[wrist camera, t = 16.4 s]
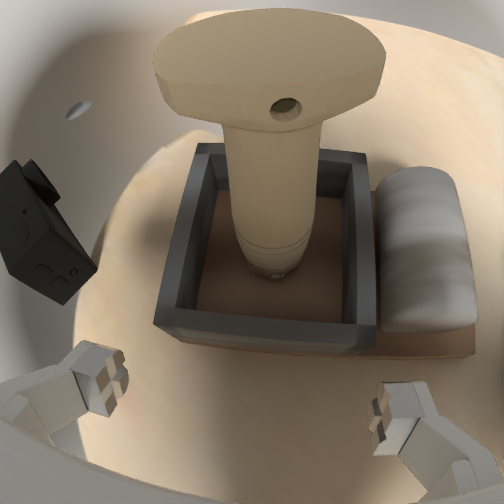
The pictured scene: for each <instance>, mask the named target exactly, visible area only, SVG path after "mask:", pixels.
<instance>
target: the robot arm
mask: <svg viewBox="0 0 504 504" xmlns="http://www.w3.org/2000/svg"><path fill="white" fill-rule="evenodd" d="M124 361H125V357H124V354H123V352H122V351H121V350H118V349H115V348H111V347H107V346H104V345H100V344H97V343H93V342H89V341H86V340H83V341H81V342H80V343H79V344H78V345H77V346H76V347H75V348H74V349H73V350H72V351H71V352H70V353H69V354H68V355H67V356H66V357H65V358H64V359H63V360H62V361H61V362H60V364H59V365H58V366H57V365H51V366H49V367H46V368H43V369H40V370H37V371H35V372H32V373H29V374H26V375H23V376H20V377H17V378H14V379H11V380H8V381H5V382H2V383H1V384H0V504H242V503H235V502H228V501H222V500H217V499H212V498H206V497H201V496H197V495H192V494H188V493H184V492H179V491H175V490H172V489H168V488H164V487H160V486H157V485H153V484H150V483H147V482H143V481H140V480H137V479H134V478H131V477H128V476H125V475H122V474H119V473H117V472H114V471H111V470H108V469H106V468H103V467H101V466H98V465H96V464H93V463H91V462H88V461H86V460H84V459H81V458H79V457H77V456H75V455H72V454H70V453H68V452H66V451H64V450H62V449H60V448H57V447H55V446H54V444H53V443H52V441H51V440H50V438H49V436H48V435H49V434H51V433H53V432H54V431H56V430H58V429H60V428H61V427H63V426H65V425H66V424H68V423H70V422H72V421H74V420H75V419H77V418H79V417H81V416H82V415H84V414H86V413H87V412H88V411H90V412H93V413H96V414H99V415H102V416H105V417H108V418H109V417H110V416H111V414H112V412H113V411H114V409H115V408H116V406H117V400H116V399H117V398H120V397H122V396H123V395H124V393H125V392H126V390H127V387H128V383H129V375H128V370H127V369H126V368H125V367H124V365H123V362H124ZM376 395H377V398H376V399H374V400H373V401H372V402H371V405H370V408H369V413H368V427H369V430H371V431H372V432H373V435H372V437H371V446H372V452H373V456H379V455H398V457H399V458H400V459H401V460H402V462H403V463H404V464H405V465H406V466H407V467H408V469H409V470H410V471H411V472H412V473H413V474H414V476H415V477H416V478H417V479H418V480H419V481H420V483H421V484H422V485H423V486H424V487H425V488H426V489H427V491H428V492H427V493H426V494H425V495H424V496H423V497H422V498H421V499H420V501H419V502H416V503H410V504H504V481H503V479H502V476H501V473H500V471H499V468H498V465H497V463H496V460H495V458H494V455H493V453H492V452H491V451H490V450H489V449H487V448H486V447H484V446H483V445H482V444H480V443H479V442H478V441H476V440H475V439H474V438H472V437H471V436H470V435H468V434H467V433H466V432H464V431H463V430H462V429H460V428H459V427H458V426H457V425H455V424H454V423H453V422H451V421H450V420H449V419H447V418H446V417H445V416H440V415H439V413H438V410H437V408H436V405H435V403H434V400H433V398H432V395H431V393H430V391H429V388H428V386H427V383H426V382H425V381H411V382H380V384H379V385H378V387H377V389H376Z"/></svg>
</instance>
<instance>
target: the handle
mask: <svg viewBox="0 0 504 504" xmlns="http://www.w3.org/2000/svg"><path fill="white" fill-rule="evenodd" d="M385 60H386V51H385V49H384V47H383V45H382V43H381V42H380V41H379V39H378V38H377V37H376V36H375V35H374V34H373V33H372V32H371V31H369V30H368V29H367V28H365V27H364V26H362V25H361V24H359V23H357V22H355V21H353V20H351V19H348V18H346V17H343V16H340V15H334V14H329V13H323V12H317V11H310V10H302V9H290V8H270V9H256V10H244V11H237V12H230V13H225V14H221V15H217V16H213V17H209V18H206V19H203V20H200V21H197V22H194V23H191V24H188V25H185V26H183V27H180V28H177V29H175V30H174V31H172V32H171V33H169V34H168V35H167V36H166V37H164V38H163V39H162V40H161V41H160V43H159V44H158V45H157V47H156V49H155V51H154V53H153V58H152V65H153V68H154V72H155V75H156V78H157V81H158V84H159V87H160V90H161V92H162V95H163V98H164V100H165V101H166V103H167V104H168V105H169V106H170V108H171V109H172V110H173V111H175V112H176V113H177V114H179V115H182V116H186V117H191V118H195V119H199V120H204V121H208V122H214V123H219V124H222V128H223V133H224V142H225V150H226V159H227V167H228V176H229V187H230V198H231V209H232V218H233V223H234V228H235V232H236V236H237V239H238V242H239V244H240V247H241V249H242V252H243V254H244V255H245V257H246V259H247V260H248V262H249V263H248V265H249V267H250V269H251V271H252V272H253V273H254V274H255V275H257V274H259V275H263V276H266V277H268V278H269V279H270V280H271V281H272V282H279V281H282V280H283V277H284V276H285V275H286V274H287V273H288V272H290V271H291V270H294V269H296V268H297V267H298V265H299V263H300V261H301V257H302V255H303V253H304V251H305V249H306V246H307V244H308V241H309V238H310V234H311V230H312V225H313V220H314V213H315V199H316V184H317V169H318V157H319V145H320V132H321V125H322V121H324V120H326V119H329V118H331V117H334V116H337V115H339V114H341V113H343V112H346V111H348V110H350V109H352V108H354V107H356V106H358V105H360V104H362V103H364V102H366V101H368V100H370V99H372V98H373V97H374V96H375V94H376V92H377V89H378V86H379V84H380V80H381V77H382V73H383V69H384V64H385Z"/></svg>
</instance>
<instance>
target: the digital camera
mask: <svg viewBox="0 0 504 504" xmlns="http://www.w3.org/2000/svg"><path fill="white" fill-rule="evenodd" d="M59 199H60V195H59V194H58V192H57V191H56V189H55V188H54V186H53V185H52V184H51V183H50V181H49V180H48V178H47V177H46V176H45V174H44V173H43V172H42V171H41V169H40V168H39V167H38V166H37V164H36V163H35V162H34V161H33V160H32V159H31V160H30V161H28V162H27V163H26V164H25V165H24V166H23V167H21V166H20V164H19V163H18V162H17V161H16V160H14V161H13V162H12V163H11V164H10V165H9V166H8V167H7V168H6V169H5V170H4V171H3V172H2V173H1V174H0V252H1V255H2V257H3V260H4V262H5V265H6V267H7V270H8V272H9V274H10V275H12V276H13V277H15V278H16V279H18V280H19V281H21V282H23V283H24V284H26V285H28V286H29V287H31V288H33V289H34V290H36V291H38V292H40V293H42V294H43V295H45V296H47V297H48V298H50V299H52V300H54V301H56V302H57V303H59V304H61V305H64V304H65V303H66V302H67V301H68V300H69V299H70V298H71V297H72V296H73V295H74V294H75V293H76V292H77V291H78V290H79V289H80V288H81V287H82V286H83V285H84V284H85V283H86V282H87V281H88V280H89V279H90V278H91V277H92V276H93V275H94V274H95V273H96V272H97V267H96V266H95V264H94V263H93V262H92V260H91V259H90V257H89V256H88V255H87V253H86V252H85V251H84V249H83V247H82V246H81V244H80V243H79V242H78V240H77V239H76V237H75V236H74V234H73V233H72V231H71V230H70V228H69V227H68V225H67V224H66V222H65V221H64V219H63V217H62V216H61V214H60V213H59V211H58V210H57V208H56V207H55V205H54V204H55V203H56V202H57V201H58V200H59Z"/></svg>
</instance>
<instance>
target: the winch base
mask: <svg viewBox="0 0 504 504" xmlns="http://www.w3.org/2000/svg"><path fill="white" fill-rule="evenodd" d="M248 263H249V262H248V260H247V259H246V257H245V255H244V254H243V252H242V249H241V247H240V244H239V242H238V239H237V236H236V232H235V228H234V223H233V218H232V209H231V198H230V187H229V176H228V167H227V159H226V150H225V143H198V145H197V148H196V152H195V155H194V158H193V162H192V165H191V168H190V172H189V175H188V179H187V182H186V186H185V190H184V193H183V197H182V201H181V204H180V208H179V212H178V216H177V219H176V223H175V227H174V231H173V235H172V239H171V243H170V248H169V252H168V256H167V260H166V265H165V269H164V273H163V278H162V282H161V287H160V292H159V296H158V301H157V306H156V311H155V316H154V321H153V324H154V325H155V326H157V327H159V328H160V329H162V330H163V331H165V332H166V333H168V334H170V335H171V336H173V337H174V338H176V339H178V340H179V341H181V342H185V343H191V344H198V345H205V346H213V347H220V348H228V349H236V350H245V351H255V352H264V353H275V354H287V355H300V356H315V357H333V358H359V359H434V358H459V357H467V356H470V355H473V354H475V329H474V322H476V321H477V319H478V312H477V301H476V291H475V283H474V275H473V268H472V261H471V255H470V249H469V244H468V238H467V233H466V228H465V223H464V219H463V214H462V210H461V206H460V201H459V197H458V194H457V190H456V186H455V183H454V181H453V179H452V178H451V177H450V176H449V175H448V174H447V173H445V172H444V171H442V170H439V169H436V168H432V167H421V166H420V167H410V168H406V169H402V170H399V171H397V172H394V173H392V174H391V175H389V176H387V177H386V178H385V179H383V180H382V181H381V182H380V184H379V185H378V187H377V188H376V191H375V192H374V191H370V186H369V177H368V168H367V160H366V154H365V153H357V152H349V151H340V150H330V149H320V148H319V157H318V169H317V184H316V199H315V213H314V220H313V225H312V230H311V234H310V238H309V241H308V244H307V246H306V249H305V251H304V253H303V255H302V257H301V261H300V263H299V265H298V267H297V268H296V269H294V270H291V271H290V272H288V273H287V274H286V275H285V276H284V277H283V280H282V281H279V282H272V281H271V280H270V279H269V278H268V277H266V276H263V275H259V274H257V275H255V274H254V273H253V272H252V271H251V269H250V267H249V265H248Z"/></svg>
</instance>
